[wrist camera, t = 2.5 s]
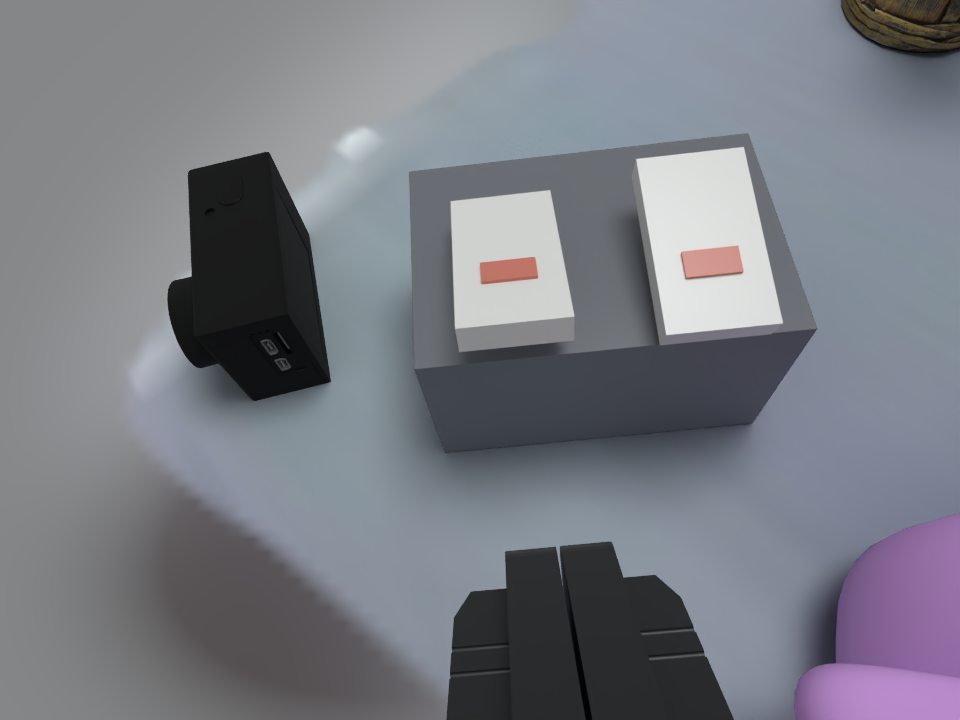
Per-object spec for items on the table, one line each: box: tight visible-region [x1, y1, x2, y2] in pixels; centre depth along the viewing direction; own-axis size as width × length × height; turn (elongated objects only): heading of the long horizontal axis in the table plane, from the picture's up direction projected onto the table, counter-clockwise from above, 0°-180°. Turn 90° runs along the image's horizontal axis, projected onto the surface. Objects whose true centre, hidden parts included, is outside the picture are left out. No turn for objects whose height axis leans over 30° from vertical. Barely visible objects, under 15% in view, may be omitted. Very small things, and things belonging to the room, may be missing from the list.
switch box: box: [409, 133, 817, 453], centre depth 32 cm, size 10×15×9 cm, turn 94°
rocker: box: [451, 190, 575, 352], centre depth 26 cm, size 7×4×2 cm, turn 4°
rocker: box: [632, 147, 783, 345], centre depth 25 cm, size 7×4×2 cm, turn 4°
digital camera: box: [167, 152, 331, 401], centre depth 35 cm, size 10×5×7 cm, turn 13°
